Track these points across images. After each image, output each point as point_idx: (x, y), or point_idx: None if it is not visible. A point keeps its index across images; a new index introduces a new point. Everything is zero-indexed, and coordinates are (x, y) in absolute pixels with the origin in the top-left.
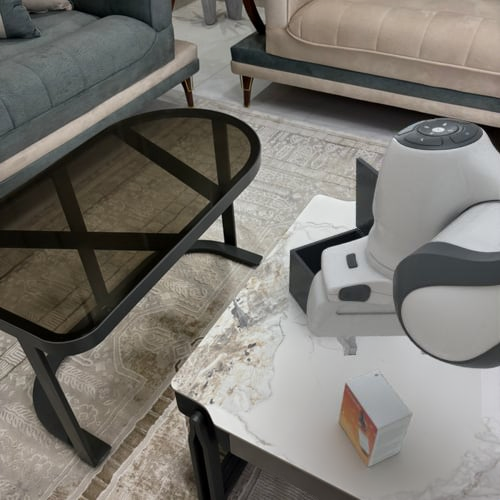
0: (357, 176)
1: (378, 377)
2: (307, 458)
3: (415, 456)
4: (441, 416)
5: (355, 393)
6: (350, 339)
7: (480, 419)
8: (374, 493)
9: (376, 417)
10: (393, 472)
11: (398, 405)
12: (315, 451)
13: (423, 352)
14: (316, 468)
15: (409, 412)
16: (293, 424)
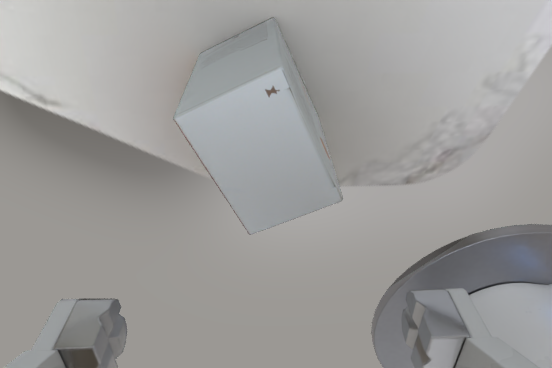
0: None
1: (276, 100)
2: (139, 131)
3: (348, 124)
4: (438, 35)
5: (201, 153)
6: (72, 360)
7: (520, 42)
8: None
9: (250, 213)
10: None
11: (313, 183)
12: (153, 117)
13: (407, 343)
14: (158, 148)
15: (336, 199)
16: (98, 58)
